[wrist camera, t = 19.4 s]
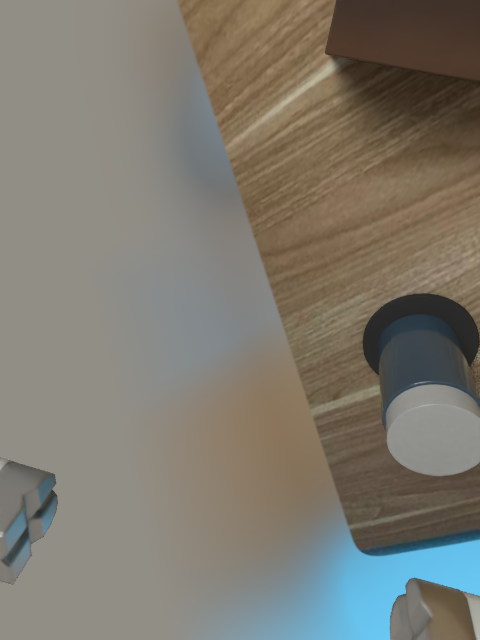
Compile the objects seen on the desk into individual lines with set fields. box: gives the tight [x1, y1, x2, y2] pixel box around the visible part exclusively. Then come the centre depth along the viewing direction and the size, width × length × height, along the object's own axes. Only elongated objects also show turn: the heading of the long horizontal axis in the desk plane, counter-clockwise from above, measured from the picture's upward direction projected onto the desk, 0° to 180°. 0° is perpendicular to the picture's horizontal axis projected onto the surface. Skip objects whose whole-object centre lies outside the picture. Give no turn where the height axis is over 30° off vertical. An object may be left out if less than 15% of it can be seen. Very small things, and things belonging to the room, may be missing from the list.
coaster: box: [363, 294, 479, 375], centre depth 37 cm, size 9×9×1 cm
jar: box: [377, 314, 480, 476], centre depth 33 cm, size 12×6×12 cm
